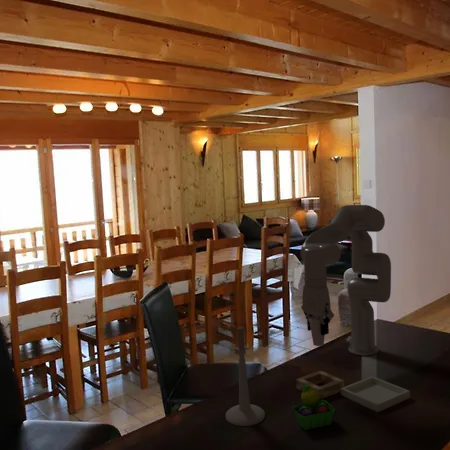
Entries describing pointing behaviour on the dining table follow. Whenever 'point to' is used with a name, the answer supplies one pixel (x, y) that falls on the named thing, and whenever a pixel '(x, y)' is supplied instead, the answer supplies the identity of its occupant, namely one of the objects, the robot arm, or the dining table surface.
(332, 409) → the fruit basket
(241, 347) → the candlestick
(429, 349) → the dining table surface
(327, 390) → the holder
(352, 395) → the tray
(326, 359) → the dining table surface
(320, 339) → the smoothie
